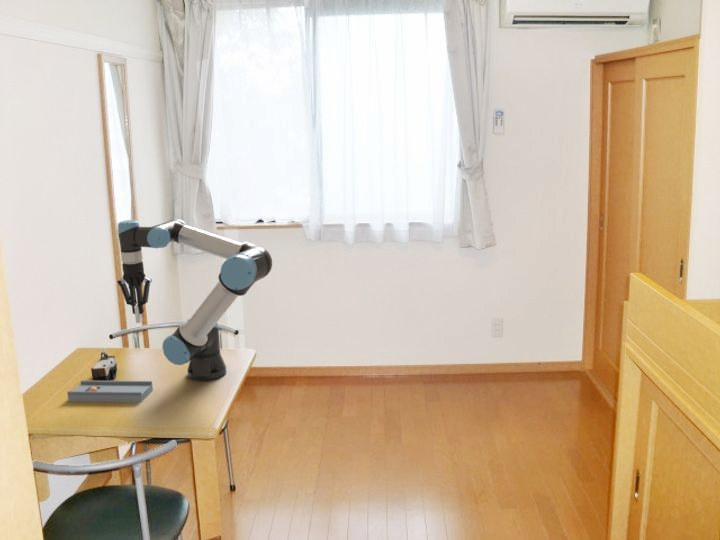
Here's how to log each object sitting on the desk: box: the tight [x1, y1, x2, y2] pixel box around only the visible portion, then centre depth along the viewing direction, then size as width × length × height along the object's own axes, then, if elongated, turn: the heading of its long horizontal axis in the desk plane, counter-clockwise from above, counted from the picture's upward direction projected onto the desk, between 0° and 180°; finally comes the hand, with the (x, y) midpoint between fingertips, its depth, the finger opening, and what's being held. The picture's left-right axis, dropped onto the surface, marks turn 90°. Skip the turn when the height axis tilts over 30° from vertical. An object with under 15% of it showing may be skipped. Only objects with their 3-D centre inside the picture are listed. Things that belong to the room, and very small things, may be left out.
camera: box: [90, 348, 118, 381], centre depth 298 cm, size 15×8×10 cm, turn 1°
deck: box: [67, 380, 154, 403], centre depth 280 cm, size 28×11×4 cm, turn 84°
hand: (139, 321), depth 287 cm, fingers closed
